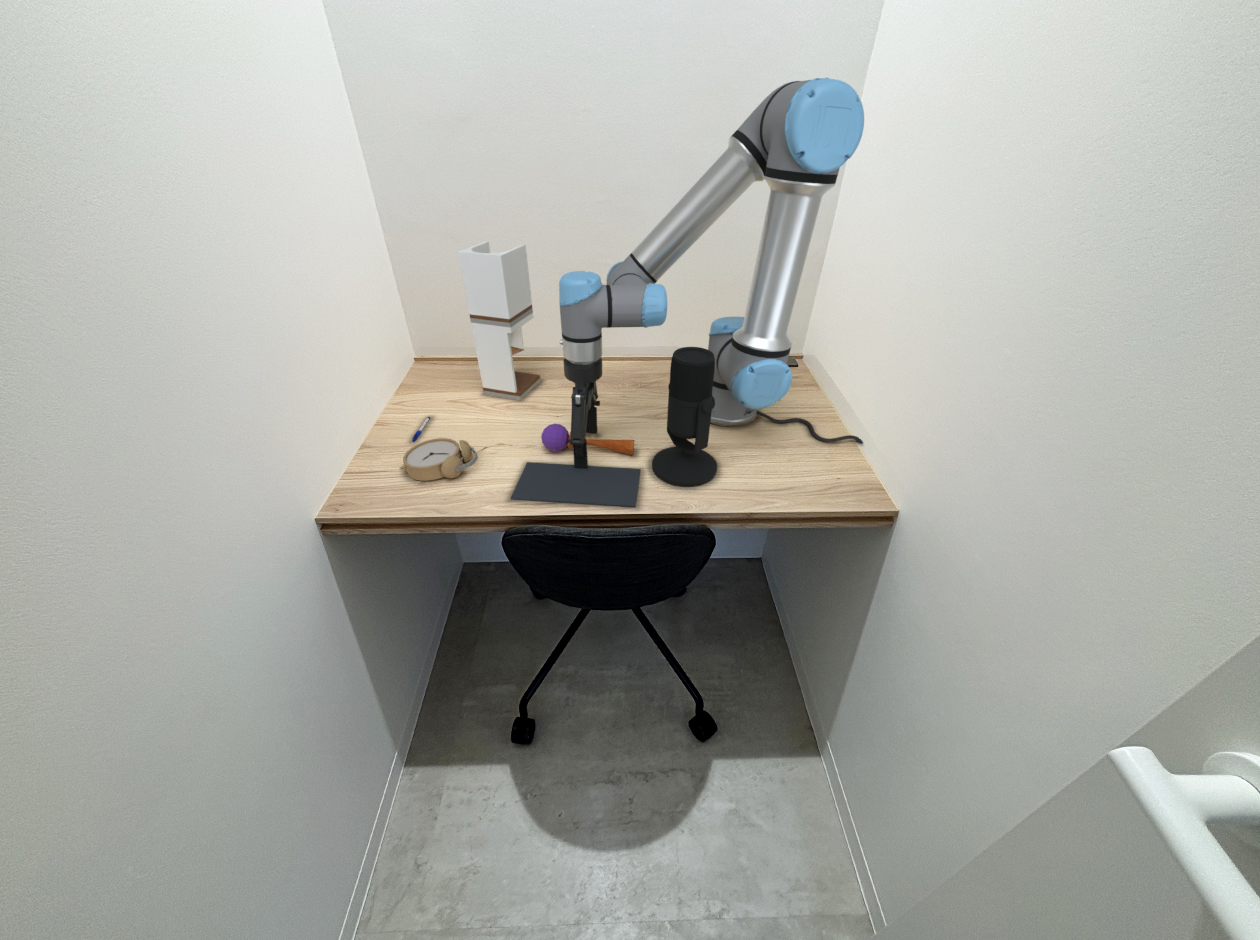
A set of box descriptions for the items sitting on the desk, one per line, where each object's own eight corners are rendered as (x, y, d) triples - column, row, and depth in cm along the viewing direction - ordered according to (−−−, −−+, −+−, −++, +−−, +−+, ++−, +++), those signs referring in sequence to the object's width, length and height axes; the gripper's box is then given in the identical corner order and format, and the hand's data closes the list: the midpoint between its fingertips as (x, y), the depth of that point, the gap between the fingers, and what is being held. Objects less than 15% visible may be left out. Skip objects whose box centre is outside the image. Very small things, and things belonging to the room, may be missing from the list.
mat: (640, 470, 104) (640, 468, 104) (635, 507, 94) (635, 506, 94) (527, 463, 106) (527, 462, 106) (510, 499, 96) (510, 497, 96)
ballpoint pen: (416, 442, 113) (415, 438, 112) (412, 442, 113) (411, 438, 112) (430, 418, 121) (429, 415, 121) (426, 418, 121) (425, 415, 121)
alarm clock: (417, 438, 108) (481, 432, 105) (426, 456, 111) (488, 451, 108) (390, 468, 99) (459, 462, 96) (401, 487, 102) (468, 483, 99)
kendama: (632, 447, 104) (537, 435, 105) (630, 467, 108) (539, 455, 109) (635, 428, 108) (544, 416, 109) (634, 447, 112) (546, 436, 113)
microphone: (730, 473, 103) (747, 359, 89) (678, 495, 97) (687, 376, 83) (689, 443, 113) (699, 335, 98) (639, 461, 107) (641, 349, 92)
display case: (520, 400, 129) (500, 255, 108) (484, 394, 131) (458, 251, 111) (540, 381, 137) (525, 244, 117) (505, 376, 140) (485, 241, 120)
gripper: (575, 333, 108) (579, 419, 120) (549, 385, 87) (557, 482, 100) (610, 334, 107) (610, 421, 119) (592, 387, 87) (594, 484, 99)
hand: (586, 449), depth 110 cm, fingers open, 13 cm apart
